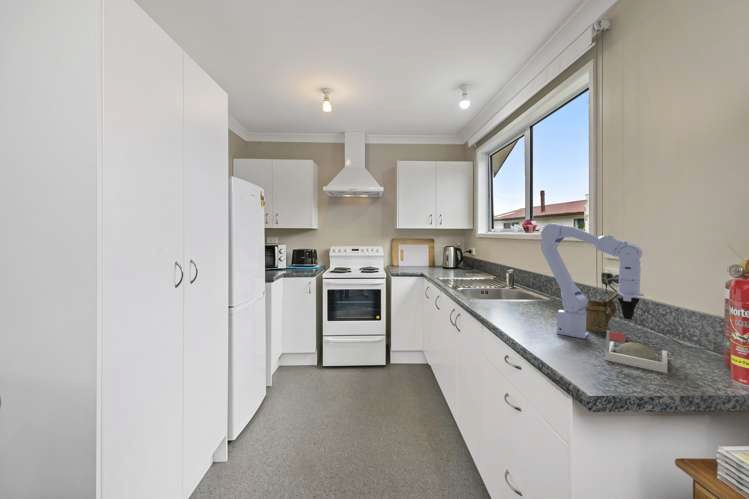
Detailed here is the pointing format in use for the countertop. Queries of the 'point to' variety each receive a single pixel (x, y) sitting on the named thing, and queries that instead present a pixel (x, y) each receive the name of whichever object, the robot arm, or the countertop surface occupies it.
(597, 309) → the wooden mug
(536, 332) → the countertop surface
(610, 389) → the countertop surface
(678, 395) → the countertop surface
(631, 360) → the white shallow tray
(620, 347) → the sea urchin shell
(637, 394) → the countertop surface
